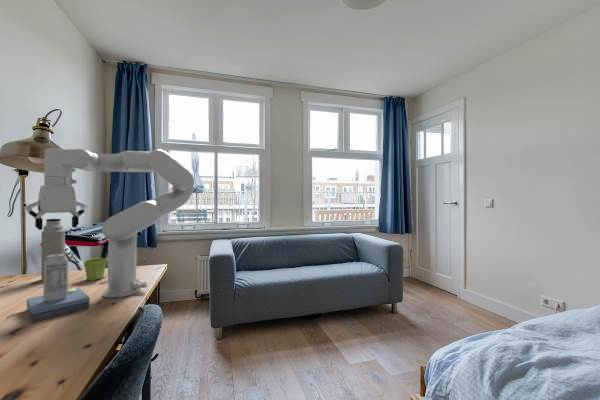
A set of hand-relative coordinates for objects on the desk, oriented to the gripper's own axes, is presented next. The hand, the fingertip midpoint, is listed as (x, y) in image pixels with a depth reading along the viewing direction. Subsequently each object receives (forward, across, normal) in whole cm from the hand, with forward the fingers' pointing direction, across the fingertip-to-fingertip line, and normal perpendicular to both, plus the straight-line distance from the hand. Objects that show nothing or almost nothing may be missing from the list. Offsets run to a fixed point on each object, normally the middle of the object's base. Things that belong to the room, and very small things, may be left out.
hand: (57, 228), depth 98 cm
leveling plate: (+24, +2, +10) cm, 27 cm away
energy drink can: (+23, +3, +12) cm, 26 cm away
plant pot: (+27, -18, -20) cm, 38 cm away
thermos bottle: (+27, -7, -35) cm, 45 cm away
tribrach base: (+27, +2, +10) cm, 29 cm away
